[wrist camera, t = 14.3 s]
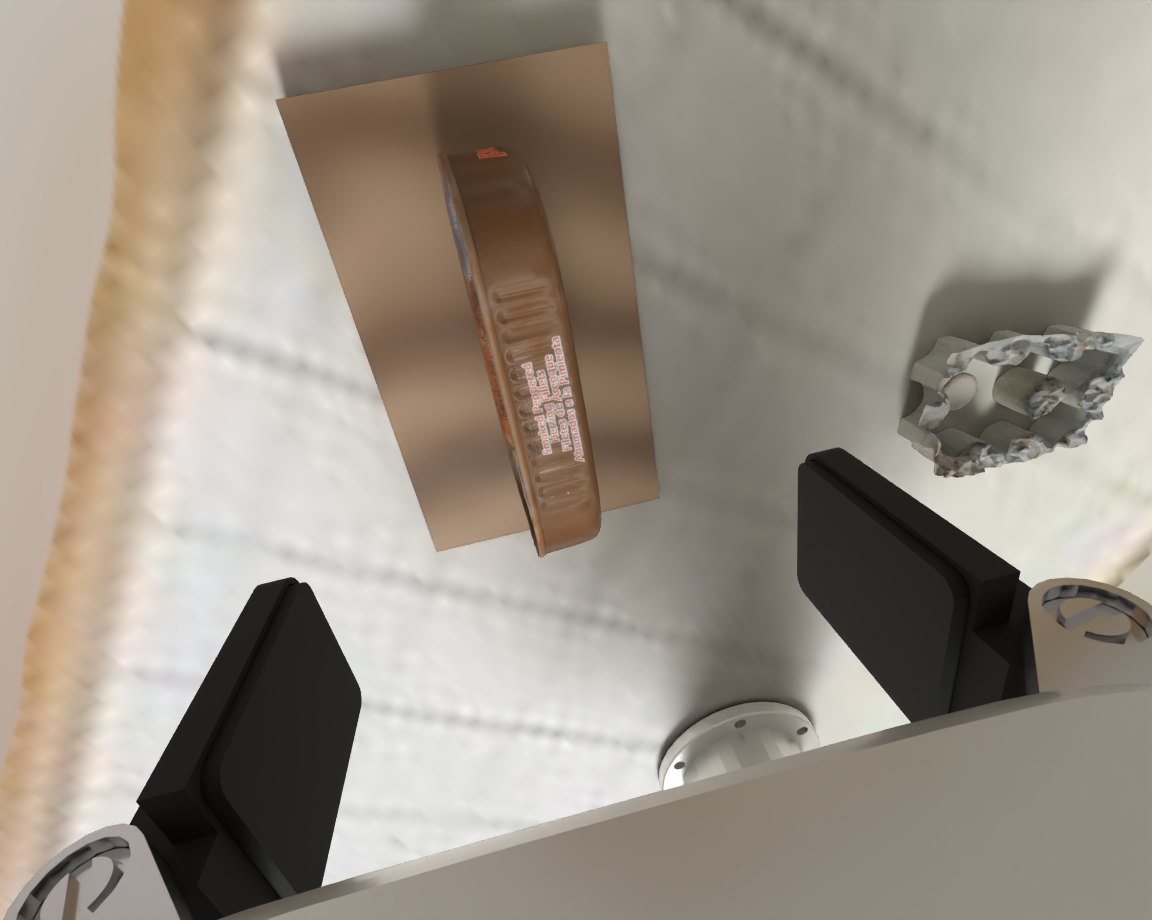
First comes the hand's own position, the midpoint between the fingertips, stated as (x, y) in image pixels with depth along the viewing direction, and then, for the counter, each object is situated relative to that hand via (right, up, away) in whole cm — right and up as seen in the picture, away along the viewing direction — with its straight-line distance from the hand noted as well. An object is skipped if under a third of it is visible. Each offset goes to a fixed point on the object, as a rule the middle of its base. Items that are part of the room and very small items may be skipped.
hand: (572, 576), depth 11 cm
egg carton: (+23, +7, +22) cm, 33 cm away
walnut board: (-3, +8, +15) cm, 18 cm away
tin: (-3, +7, +14) cm, 17 cm away
